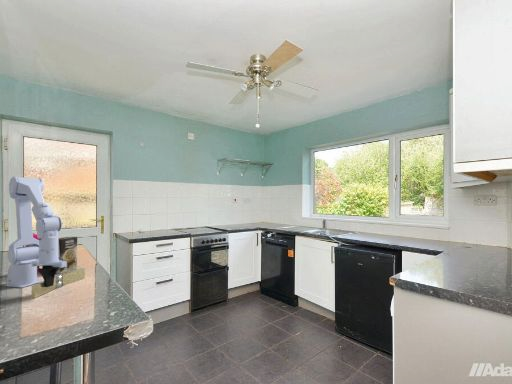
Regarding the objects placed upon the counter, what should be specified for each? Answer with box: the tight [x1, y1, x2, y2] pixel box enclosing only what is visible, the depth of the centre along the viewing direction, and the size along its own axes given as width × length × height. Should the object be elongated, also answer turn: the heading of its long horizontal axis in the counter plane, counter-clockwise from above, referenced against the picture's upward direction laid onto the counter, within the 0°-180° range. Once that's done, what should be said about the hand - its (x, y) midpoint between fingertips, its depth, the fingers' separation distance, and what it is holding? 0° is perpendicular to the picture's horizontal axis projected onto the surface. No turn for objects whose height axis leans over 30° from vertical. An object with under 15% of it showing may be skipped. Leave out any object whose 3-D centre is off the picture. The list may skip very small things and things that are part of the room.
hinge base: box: [55, 267, 86, 289], centre depth 108 cm, size 3×13×4 cm, turn 165°
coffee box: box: [55, 236, 78, 275], centre depth 126 cm, size 9×6×16 cm
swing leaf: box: [31, 274, 62, 299], centre depth 98 cm, size 3×13×4 cm, turn 1°
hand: (49, 286), depth 97 cm, fingers closed, pressing on swing leaf
